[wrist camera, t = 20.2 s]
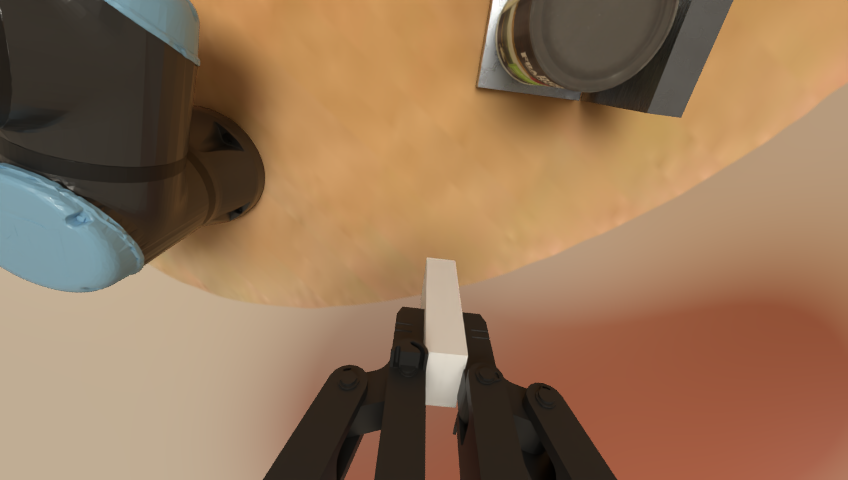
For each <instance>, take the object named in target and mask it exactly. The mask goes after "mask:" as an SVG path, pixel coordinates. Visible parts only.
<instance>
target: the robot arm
mask: <svg viewBox="0 0 848 480" xmlns="http://www.w3.org/2000/svg"><path fill="white" fill-rule="evenodd" d="M199 29H200V22H199V17H198V14H197V11H196V9H195V7H194V6H193V4H192V3H191V2H190V0H0V267H2V268H4V269H6V270H7V271H9V272H11V273H13V274H14V275H16V276H18V277H20V278H23V279H25V280H27V281H30V282H32V283H35V284H38V285H41V286H44V287H47V288H51V289H55V290H60V291H66V292H92V291H97V290H99V289H104V288H106V287H109V286H111V285H113V284H115V283H116V282H118V281H120V280H122V279H124V278H125V277H127V276H129V275H132V274H136V273H137V272H139V271H140V270H141V269H142V268H143V266H144V265H146V264H147V263H149V262H150V261H152V260H153V259H154V258H156V257H157V256H159V255H160V254H162V253H163V252H165V251H166V250H167V249H169V248H170V247H172V246H173V245H175V244H176V243H178V242H179V241H181V240H182V239H184V238H185V237H186V236H188V235H189V234H191V233H192V232H194V231H195V230H197V229H198V228H199V227H201V226H207V225H213V224H218V223H224V222H228V221H231V220H234V219H236V218H238V217H240V216H242V215H243V214H244V213H246V212H247V211H248V210H250V209H251V208H252V207H253V206H254V205H255V204H256V203H257V201H258V200H259V198H260V196H261V194H262V191H263V188H264V178H265V177H264V168H263V163H262V160H261V157H260V155H259V153H258V151H257V149H256V147H255V145H254V144H253V142H252V141H251V139H250V138H249V137H248V135H247V134H246V133H245V132H244V131H243V130H242V129H241V128H240V127H239V126H238V125H237V124H235V123H234V122H233V121H231V120H230V119H229V118H227V117H225V116H224V115H222V114H220V113H218V112H215V111H213V110H210V109H207V108H203V107H197V106H193V100H194V91H195V82H196V73H197V66H199V67H200V63H201V62H200V59H199V58H198V46H199ZM457 400H458V414H457V418H456V422H455V425H454V430H453V434H455V435H456V432H457V439H458V453H459V467H460V480H617V479H616V477H615V476H614V474H613V473H612V471H611V470H610V468H609V467H608V465H607V464H606V462H605V461H604V459H603V458H602V456H601V455H600V453H599V452H598V450H597V449H596V447H595V446H594V444H593V442H592V441H591V440H590V438H589V436H588V435H587V434H586V432H585V430H584V429H583V427H582V426H581V424H580V423H579V421H578V420H577V418H576V417H575V415H574V414H573V412H572V411H571V409H570V408H569V406H568V405H567V403H566V402H565V400H564V399H563V397H562V396H561V395H560V394H559V392H558V391H557V390H555V389H554V388H552V387H551V386H549V385H546V384H544V383H534V384H531V385H530V386H529V387H528V388H527V389H526V388H524V387H521V386H518V385H515V384H513V383H511V382H509V381H508V380H506V379H505V378H504V377H503V375H502V373H501V372H500V371H499V370H498V369H497V368H496V365H495V360H494V356H493V352H492V347H491V343H490V340H489V334H488V330H487V325H486V322H485V321H484V319H483V318H482V317H481V315H480V314H473V313H463V312H462V307H461V300H460V292H459V285H458V277H457V270H456V263H455V260H446V259H437V258H428V257H427V260H426V267H425V274H424V281H423V288H422V295H421V308H420V309H418V308H409V307H402V308H401V309H400V311H399V312H398V313H397V318H396V324H395V332H394V339H393V347H392V349H391V357H390V361H389V362H388V364H386V365H385V366H384V367H383V368H381V369H379V370H375V371H371V372H365V371H364V370H363V369H362V368H360V367H358V366H354V365H346V366H342V367H340V368H338V369H336V370H335V371H334V372H333V373H332V374H331V375H330V376H329V378H328V379H327V381H326V383H325V384H324V386H323V387H322V389H321V390H320V392H319V393H318V395H317V397H316V398H315V400H314V401H313V403H312V404H311V406H310V408H309V409H308V410H307V412H306V414H305V415H304V417H303V418H302V420H301V421H300V423H299V424H298V426H297V428H296V429H295V431H294V432H293V434H292V435H291V437H290V438H289V440H288V442H287V443H286V445H285V446H284V448H283V449H282V451H281V452H280V454H279V455H278V457H277V459H276V460H275V462H274V463H273V465H272V466H271V468H270V469H269V471H268V473H267V474H266V476H265V478H264V479H263V480H344V478H345V476H346V474H347V472H348V469H349V467H350V464H351V462H352V460H353V458H354V456H355V453H356V451H357V449H358V447H359V444H360V442H361V440H362V437H363V435H364V434H365V433H370V432H373V431H378V430H381V434H380V441H379V449H378V456H377V464H376V471H375V479H374V480H425V417H426V415H425V414H426V412H425V408H426V405H434V406H444V407H456V403H457Z"/></svg>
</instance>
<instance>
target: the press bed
mask: <svg viewBox="0 0 848 480" xmlns="http://www.w3.org/2000/svg"><path fill="white" fill-rule="evenodd" d="M506 2H507V0H491V1H490V6H489V12H488V18H487V24H486V29H485V35H484V41H483V47H482V52H481V58H480V64H479V70H478V75H477V81H476V87H482V88H489V89H497V90H504V91H511V92H519V93H526V94H534V95H541V96H548V97H556V98H563V99H571V100H578V101H579V99H580V95H581V92H576V91H572V90H568V89H565V88H557V87H550V86H541V85H527V84H523V83H521V82H518V81H517V80H515V79H514V78H513V77H511V76H510V75H509V74H508V73H507V72H506V70H505V69H504V68H503V66H502V65H501V63H500V60H499V58H498V55H497V50H496V43H495V34H496V26H497V22H498V19H499V15H500V12H501V11H502V8H503V7H504V5H505V3H506ZM732 2H733V0H679V4H678V9H677V13H676V16H675V19H674V22H673V24H672V27H671V29H670V31H669V33H668V35H667V37H666V39H665V41H664V43H663V44H662V46H661V47H660V49H659V50H658V51H657V53H656V54H655V55H654V57H653V58H652V59H651V60H650V61H649V62H648V63H647V65H646V66H644V67H643V68H642V69H641V70H640V71H639V72H638V73H636V74H635V75H634V76H632V77H631V78H630V79H628V80H626V81H625V82H623V83H621V84H619V85H617V86H615V87H613V88H610V89H606V90H602V91H598V92H583V93H582V97H581V101H586V102H591V103H597V104H602V105H607V106H612V107H618V108H623V109H628V110H633V111H639V112H644V113H650V114H658V115H665V116H672V117H680V118H681V116H682V114H683V112H684V110H685V107H686V105H687V103H688V101H689V99H690V96H691V94H692V92H693V90H694V87H695V85H696V83H697V81H698V78H699V76H700V74H701V72H702V69H703V67H704V65H705V63H706V60H707V58H708V56H709V54H710V51H711V49H712V47H713V45H714V42H715V40H716V38H717V36H718V33H719V31H720V29H721V27H722V24H723V22H724V20H725V18H726V15H727V13H728V11H729V9H730V6H731V4H732Z"/></svg>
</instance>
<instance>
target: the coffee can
mask: <svg viewBox="0 0 848 480" xmlns="http://www.w3.org/2000/svg"><path fill="white" fill-rule="evenodd" d="M678 4H679V0H507V2H506V3H505V5H504V7H503V8H502V11H501V12H500V15H499V19H498V22H497V26H496V34H495V43H496V50H497V55H498V58H499V60H500V63H501V65H502V66H503V68H504V69H505V70H506V72H507V73H508V74H509V75H510V76H511V77H513V78H514V79H515V80H517V81H518V82H521V83H523V84H527V85H541V86H550V87H557V88H565V89H568V90H572V91H576V92H598V91H602V90H606V89H610V88H613V87H615V86H617V85H619V84H621V83H623V82H625V81H626V80H628V79H630V78H631V77H632V76H634V75H635V74H636V73H638V72H639V71H640V70H641V69H642V68H643V67H644V66H646V65H647V63H648V62H649V61H650V60H651V59H652V58H653V57H654V55H655V54H656V53H657V51H658V50H659V49H660V47H661V46H662V44H663V43H664V41H665V39H666V37H667V35H668V33H669V31H670V29H671V27H672V24H673V22H674V19H675V16H676V13H677V9H678Z"/></svg>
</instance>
